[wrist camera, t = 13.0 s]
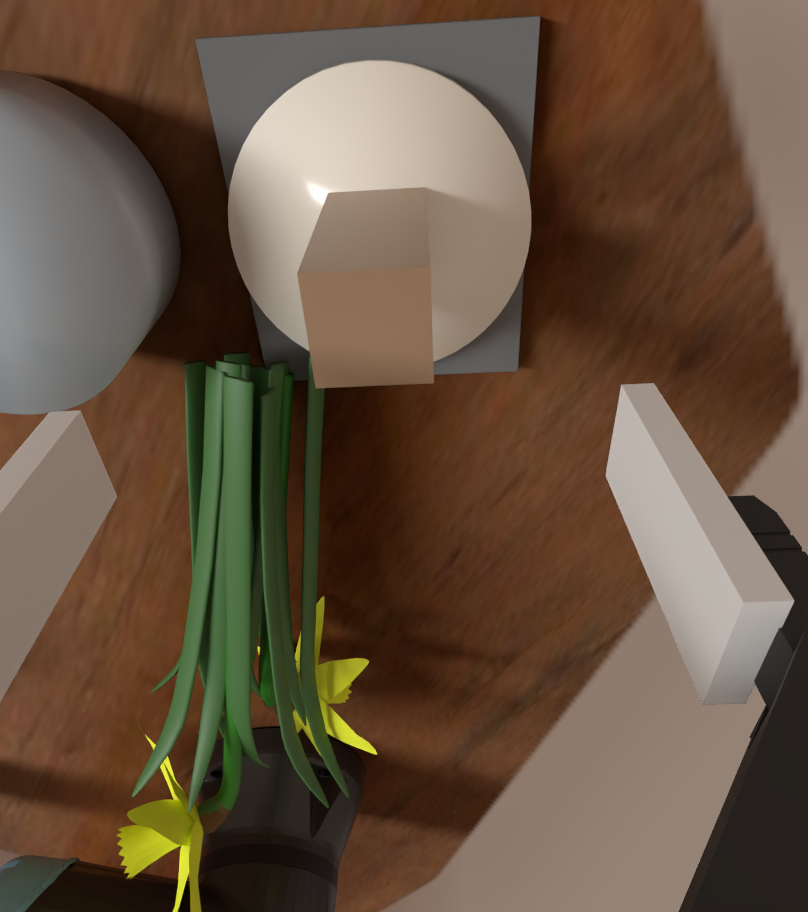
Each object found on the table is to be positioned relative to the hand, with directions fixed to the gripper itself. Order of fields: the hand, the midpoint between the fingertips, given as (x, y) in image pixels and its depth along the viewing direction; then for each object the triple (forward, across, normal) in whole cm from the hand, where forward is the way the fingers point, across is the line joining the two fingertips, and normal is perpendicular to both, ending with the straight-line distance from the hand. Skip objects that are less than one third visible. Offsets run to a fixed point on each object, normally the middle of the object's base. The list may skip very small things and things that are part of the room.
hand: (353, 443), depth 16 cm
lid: (+16, 0, -1) cm, 16 cm away
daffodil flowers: (+17, +10, +19) cm, 27 cm away
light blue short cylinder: (+17, +15, -2) cm, 22 cm away
